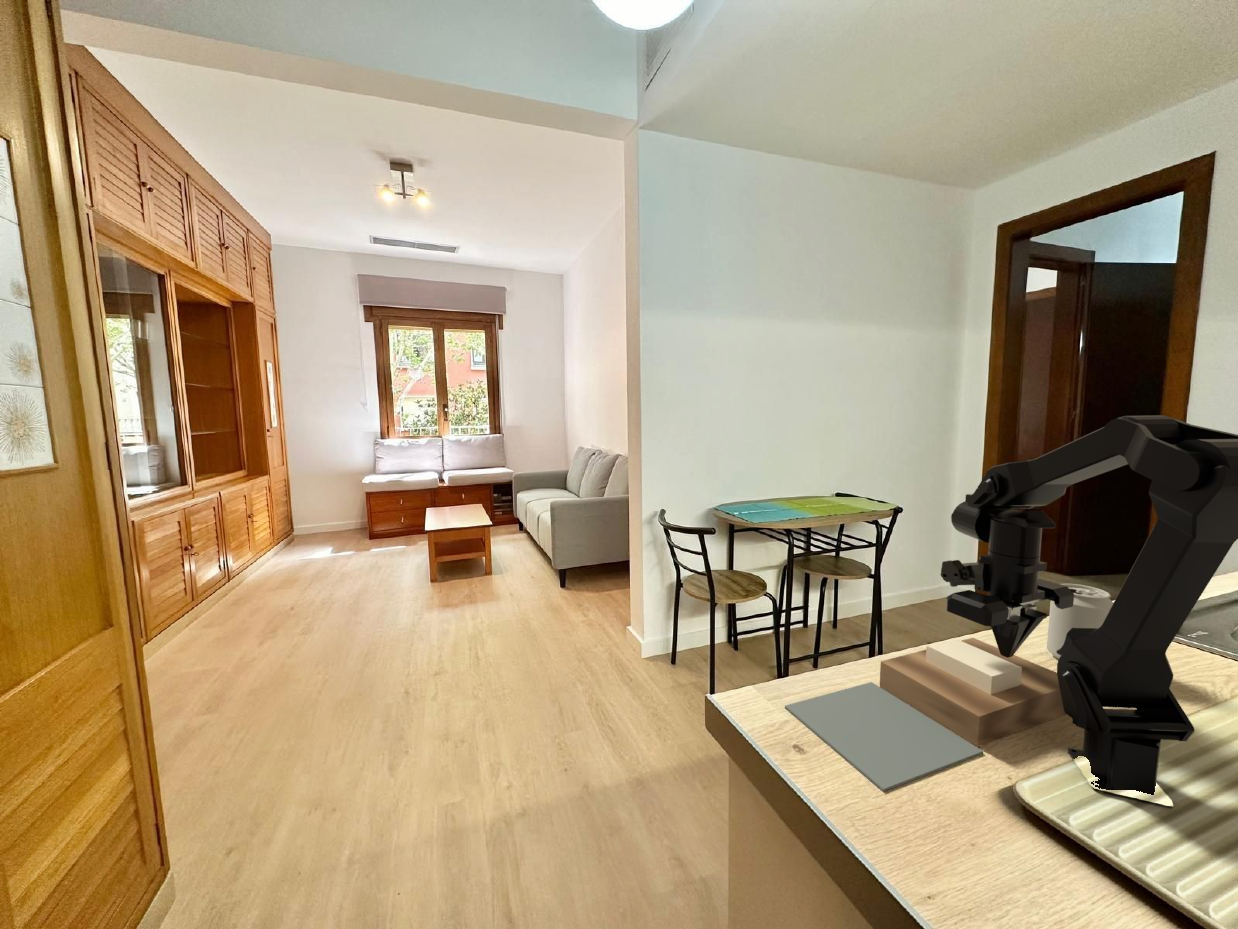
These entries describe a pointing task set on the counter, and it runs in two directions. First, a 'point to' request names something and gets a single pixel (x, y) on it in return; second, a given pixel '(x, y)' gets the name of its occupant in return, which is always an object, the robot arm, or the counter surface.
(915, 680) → the block
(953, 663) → the tile
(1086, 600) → the can
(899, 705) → the mat
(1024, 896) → the counter surface
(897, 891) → the counter surface
